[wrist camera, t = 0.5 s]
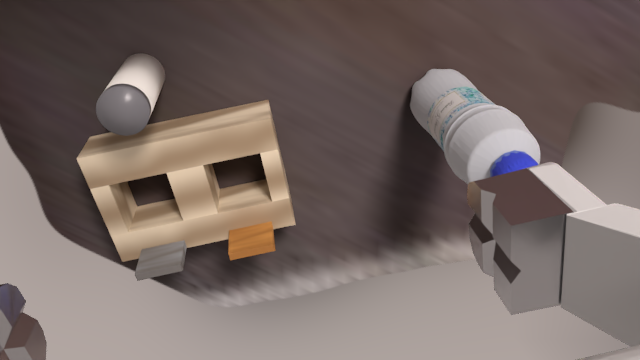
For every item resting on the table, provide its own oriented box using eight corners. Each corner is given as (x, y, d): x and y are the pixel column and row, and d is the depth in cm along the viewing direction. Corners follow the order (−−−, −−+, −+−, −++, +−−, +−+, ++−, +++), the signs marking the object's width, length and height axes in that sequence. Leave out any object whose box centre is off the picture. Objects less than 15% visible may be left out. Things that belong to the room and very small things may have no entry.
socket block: (90, 136, 53) (63, 179, 45) (268, 99, 53) (273, 135, 45) (131, 234, 58) (114, 287, 51) (291, 200, 59) (299, 247, 51)
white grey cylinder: (115, 58, 49) (87, 93, 41) (157, 49, 49) (139, 83, 41) (129, 98, 51) (106, 140, 43) (170, 89, 51) (156, 129, 43)
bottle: (423, 50, 53) (514, 128, 35) (478, 76, 55) (588, 162, 37) (391, 109, 55) (461, 209, 38) (444, 131, 57) (533, 236, 40)
